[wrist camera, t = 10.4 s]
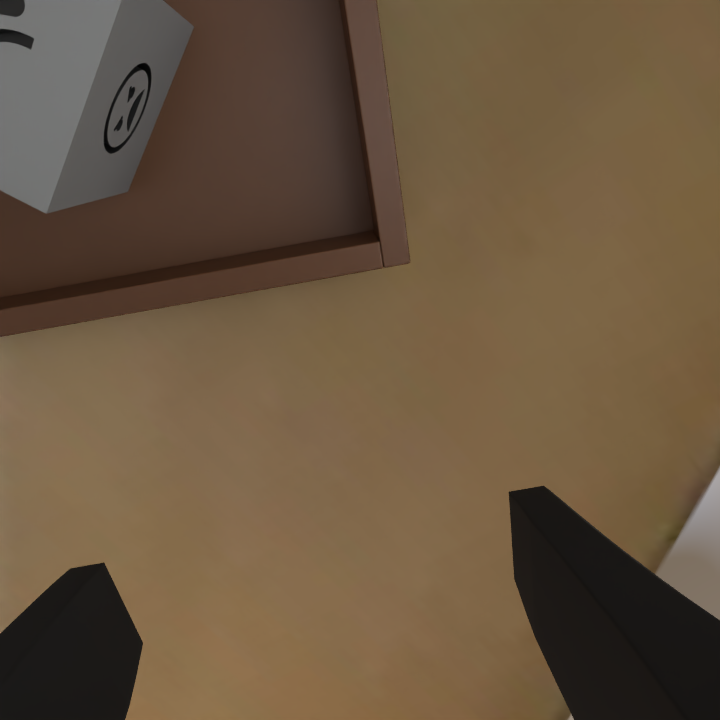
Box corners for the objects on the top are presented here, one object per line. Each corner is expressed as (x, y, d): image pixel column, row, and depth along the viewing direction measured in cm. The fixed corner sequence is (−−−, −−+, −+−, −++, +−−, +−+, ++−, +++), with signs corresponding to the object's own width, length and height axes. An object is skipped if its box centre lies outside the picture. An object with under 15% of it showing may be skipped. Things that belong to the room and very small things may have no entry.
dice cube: (194, 26, 14) (131, -27, 10) (127, 191, 16) (46, 213, 11) (6, -94, 13) (-168, -220, 8) (-46, 98, 15) (-217, 80, 10)
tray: (-81, 333, 18) (-142, 363, 15) (-371, -198, 12) (-533, -276, 10) (399, 247, 17) (410, 263, 15) (321, -332, 12) (319, -441, 10)
